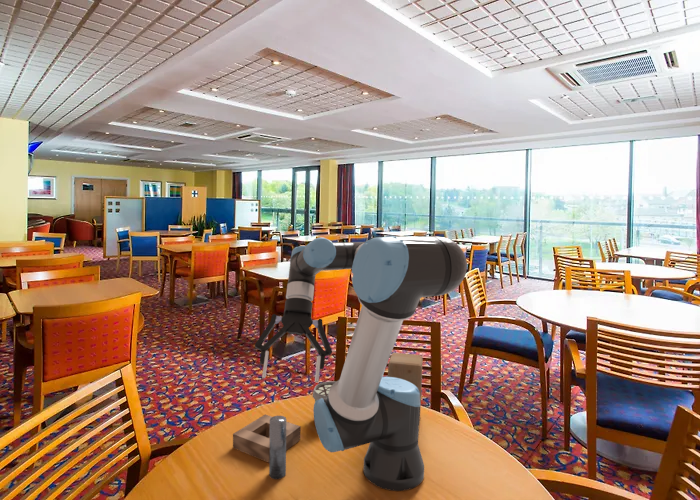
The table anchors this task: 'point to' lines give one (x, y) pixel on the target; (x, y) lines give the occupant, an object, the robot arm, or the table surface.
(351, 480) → the table surface
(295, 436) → the square block with hole
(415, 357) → the wooden block
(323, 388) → the food container
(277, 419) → the peg
